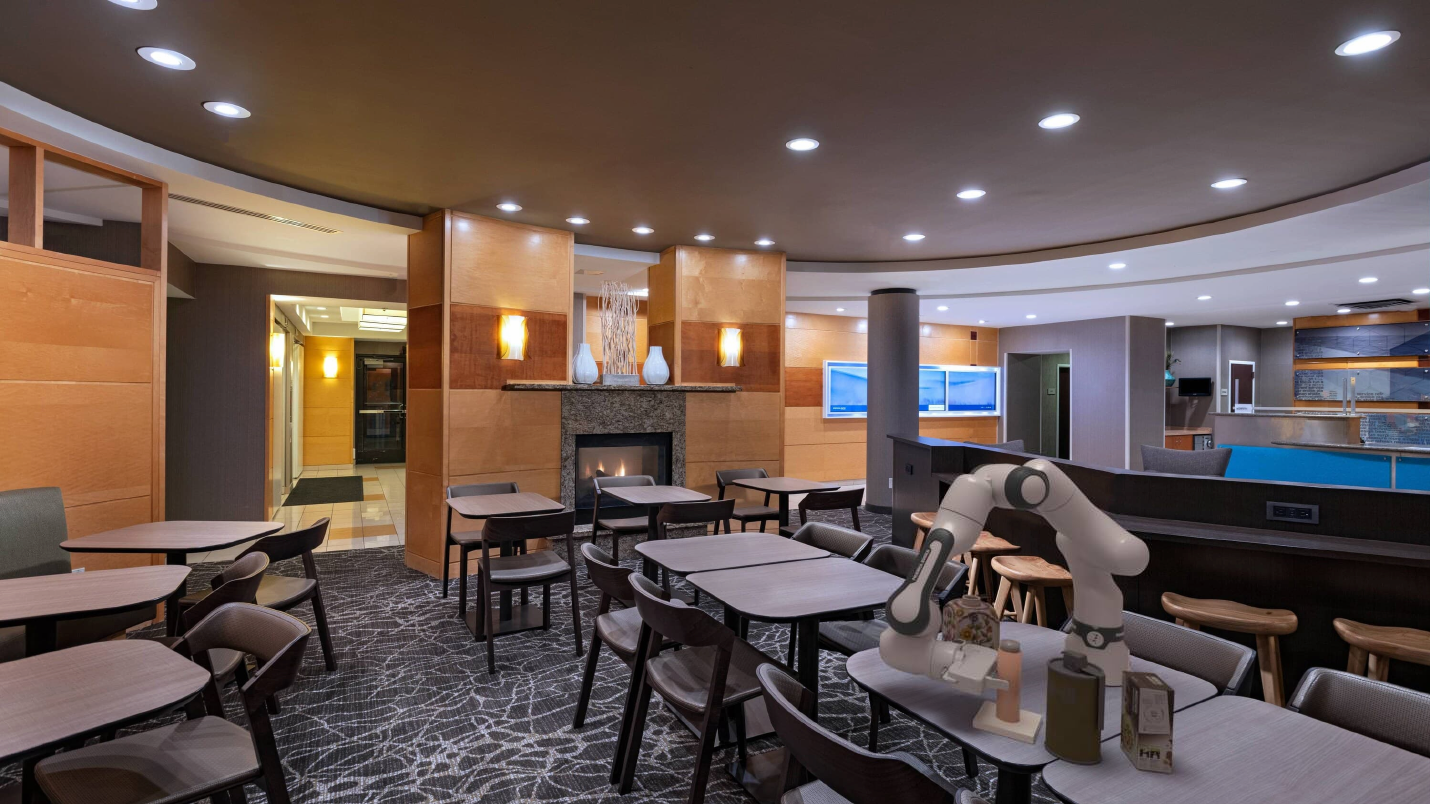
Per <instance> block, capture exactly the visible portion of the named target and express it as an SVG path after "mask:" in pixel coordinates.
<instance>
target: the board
mask: <svg viewBox="0 0 1430 804" xmlns="http://www.w3.org/2000/svg"><path fill="white" fill-rule="evenodd" d="M1042 723H1043V714H1039V713H1035V712H1033V711H1029V710H1023V709H1021V708H1020V721H1019V722H1017V723H1009V722H1004V721H1002V720H1000V719H998V718H997V717H996V702H993V701H990V700H984V702H983V704H982V705H981V707H980V709H979V710H978V712H977V713H976V714H975V717H974V718H973V720H972V728H974V729H977V730H981V731H985V732H988V733H992V734H995V735H999V736H1003V737H1006V738H1009V739H1014V740H1017V741H1020V742H1023V743H1027V744H1031V745H1034V742H1035V740H1036V738H1037V736H1038V733H1039V731H1040V727H1041V726H1042Z"/></svg>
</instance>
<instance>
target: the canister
mask: <svg viewBox="0 0 1430 804" xmlns="http://www.w3.org/2000/svg"><path fill="white" fill-rule="evenodd" d="M1060 654H1061V655H1063V656H1055V657H1051V658H1048V660H1047V661H1046V665H1047V677H1046V678H1047V679H1046V680H1047V682H1046V683H1047V684H1046V707H1045V708H1046V711H1045V739H1044V743H1043V745H1044V748H1045V750H1046V751H1048V753H1049V754H1051V756H1055V757H1056V758H1058V759H1060V760H1061V761H1062V760H1063V761H1066V762H1069V763H1071V764H1077V765H1081V766H1082V765H1083V766H1085V765H1095V764H1098V763H1100V762H1101V761H1102V759H1103V755H1102V753H1101V749H1102V731H1104V730H1105V706H1106V705H1105V704H1106V703H1105V702H1106V685H1105V681H1106V676H1105V673H1104V670H1103V669H1102V668H1101V667H1099V666H1097V665H1096V664H1093V663H1090V662H1088V661H1087V655H1085V654H1082V653H1077V652H1075V651H1072V650H1065V651H1064V650H1063V651H1061V652H1060Z"/></svg>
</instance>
